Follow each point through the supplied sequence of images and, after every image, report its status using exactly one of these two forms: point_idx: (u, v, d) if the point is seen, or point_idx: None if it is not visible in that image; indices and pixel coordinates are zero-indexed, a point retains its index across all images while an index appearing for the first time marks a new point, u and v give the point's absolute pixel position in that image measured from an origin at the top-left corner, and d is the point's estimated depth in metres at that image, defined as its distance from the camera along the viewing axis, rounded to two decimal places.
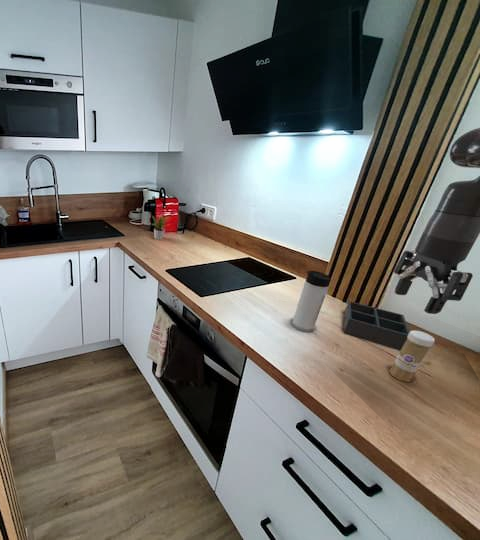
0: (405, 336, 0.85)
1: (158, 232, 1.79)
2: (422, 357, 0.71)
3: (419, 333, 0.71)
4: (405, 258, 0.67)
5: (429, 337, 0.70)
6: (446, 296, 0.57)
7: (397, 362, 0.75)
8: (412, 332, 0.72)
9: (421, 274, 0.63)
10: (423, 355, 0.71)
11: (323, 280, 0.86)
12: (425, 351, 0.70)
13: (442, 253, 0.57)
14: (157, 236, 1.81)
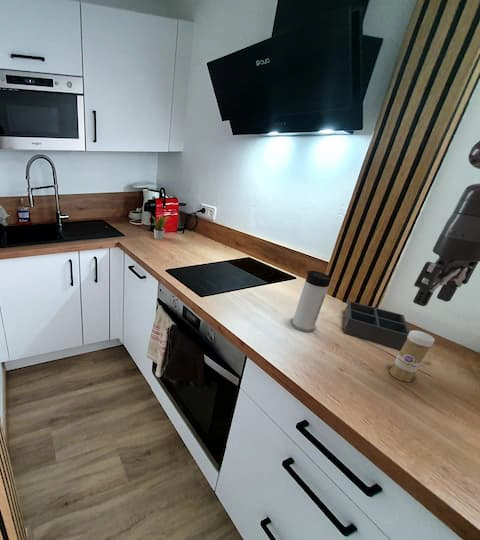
0: (405, 336, 0.85)
1: (158, 232, 1.79)
2: (422, 357, 0.71)
3: (419, 333, 0.72)
4: None
5: (429, 336, 0.70)
6: None
7: (397, 362, 0.75)
8: (412, 332, 0.72)
9: None
10: (423, 355, 0.71)
11: (323, 280, 0.86)
12: (425, 351, 0.70)
13: (437, 247, 0.63)
14: (157, 236, 1.81)
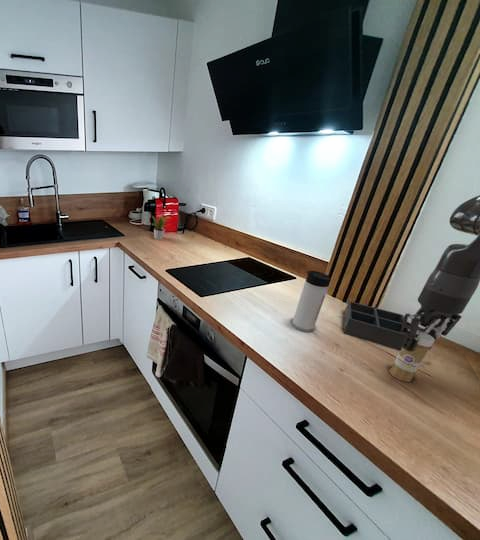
0: (405, 336, 0.85)
1: (158, 232, 1.79)
2: (422, 357, 0.71)
3: None
4: None
5: (429, 337, 0.70)
6: None
7: (397, 362, 0.75)
8: None
9: None
10: (423, 355, 0.71)
11: (323, 280, 0.86)
12: (425, 351, 0.70)
13: (420, 297, 0.69)
14: (157, 236, 1.81)
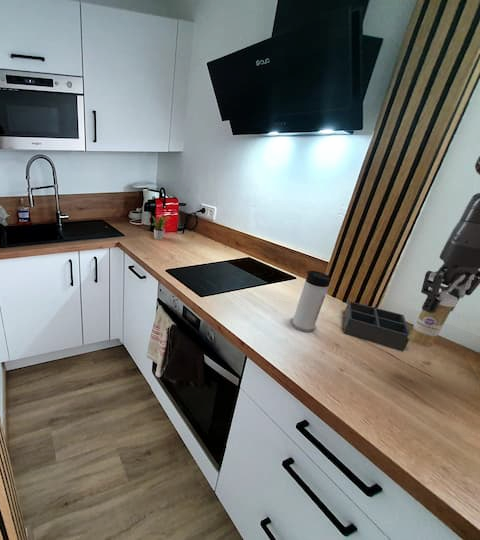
0: (405, 336, 0.85)
1: (158, 232, 1.79)
2: (444, 319, 0.67)
3: None
4: None
5: (452, 296, 0.66)
6: None
7: (416, 326, 0.70)
8: None
9: None
10: (445, 316, 0.66)
11: (323, 280, 0.86)
12: (447, 312, 0.66)
13: (442, 253, 0.64)
14: (157, 236, 1.81)
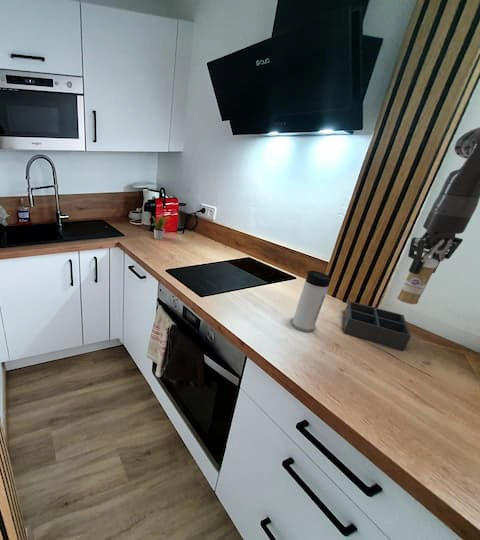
0: (405, 336, 0.85)
1: (158, 232, 1.79)
2: (427, 279, 0.79)
3: None
4: None
5: (433, 260, 0.78)
6: None
7: (404, 287, 0.83)
8: None
9: None
10: (428, 277, 0.79)
11: (323, 280, 0.86)
12: (430, 273, 0.78)
13: (425, 222, 0.76)
14: (157, 236, 1.81)
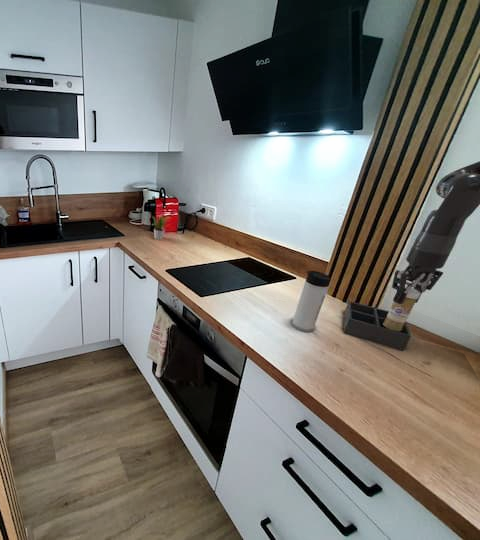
0: (405, 336, 0.85)
1: (158, 232, 1.79)
2: (410, 308, 0.84)
3: None
4: None
5: (416, 291, 0.83)
6: None
7: (389, 315, 0.88)
8: None
9: None
10: (411, 307, 0.84)
11: (323, 280, 0.86)
12: (412, 303, 0.83)
13: (408, 256, 0.81)
14: (157, 236, 1.81)
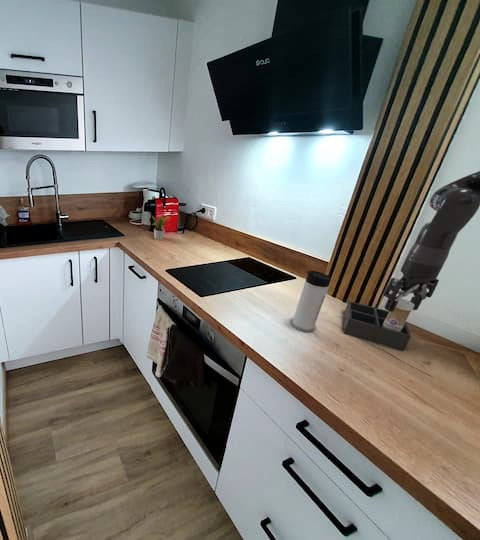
0: (405, 336, 0.85)
1: (158, 232, 1.79)
2: (404, 320, 0.85)
3: (402, 300, 0.86)
4: None
5: (410, 302, 0.85)
6: None
7: (384, 326, 0.89)
8: None
9: None
10: (405, 318, 0.85)
11: (323, 280, 0.86)
12: (406, 315, 0.85)
13: (402, 267, 0.83)
14: (157, 236, 1.81)
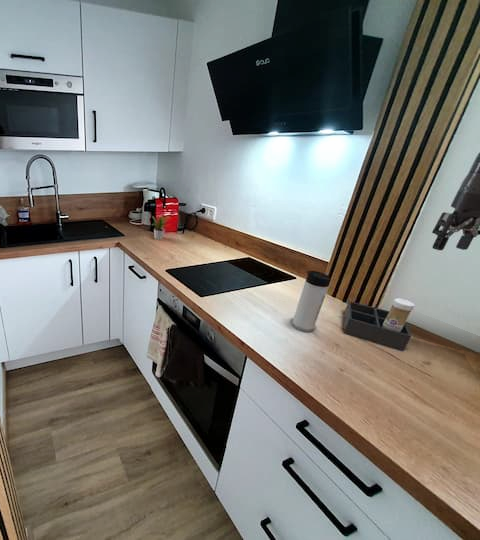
0: (405, 336, 0.85)
1: (158, 232, 1.79)
2: (404, 320, 0.85)
3: (402, 300, 0.86)
4: None
5: (410, 302, 0.85)
6: None
7: (384, 326, 0.89)
8: (396, 299, 0.86)
9: None
10: (405, 318, 0.85)
11: (323, 280, 0.86)
12: (406, 315, 0.85)
13: (453, 201, 0.78)
14: (157, 236, 1.81)
